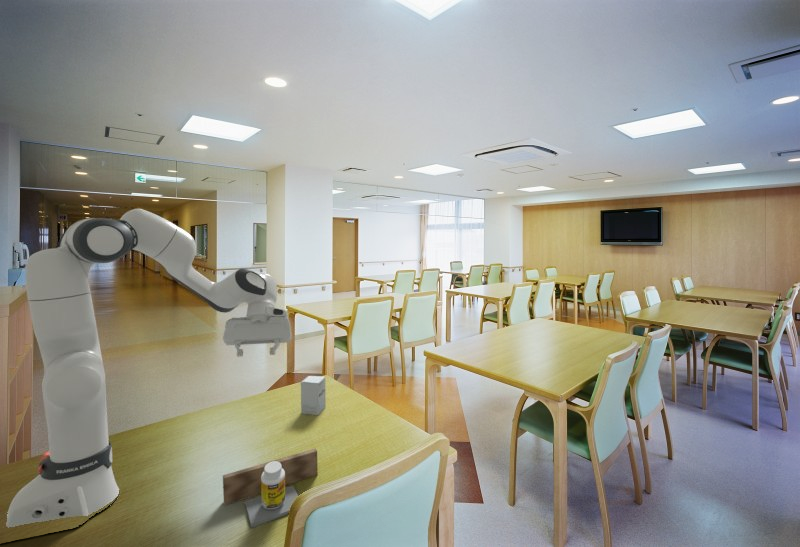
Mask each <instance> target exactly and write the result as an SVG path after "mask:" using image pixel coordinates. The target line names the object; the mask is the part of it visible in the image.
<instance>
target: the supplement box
mask: <svg viewBox="0 0 800 547" xmlns="http://www.w3.org/2000/svg"><path fill="white" fill-rule="evenodd" d="M326 399H327V397H326V376H318V375H316V376H315V375H308V376H306V377H305V378H304V379H303V380H302V381H300V412H301V414H303V415H314V416H319V415H320V414H321V412H322V411H323V410H324V409H325V408H326V406H327V405H326V402H327V401H326Z"/></svg>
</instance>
